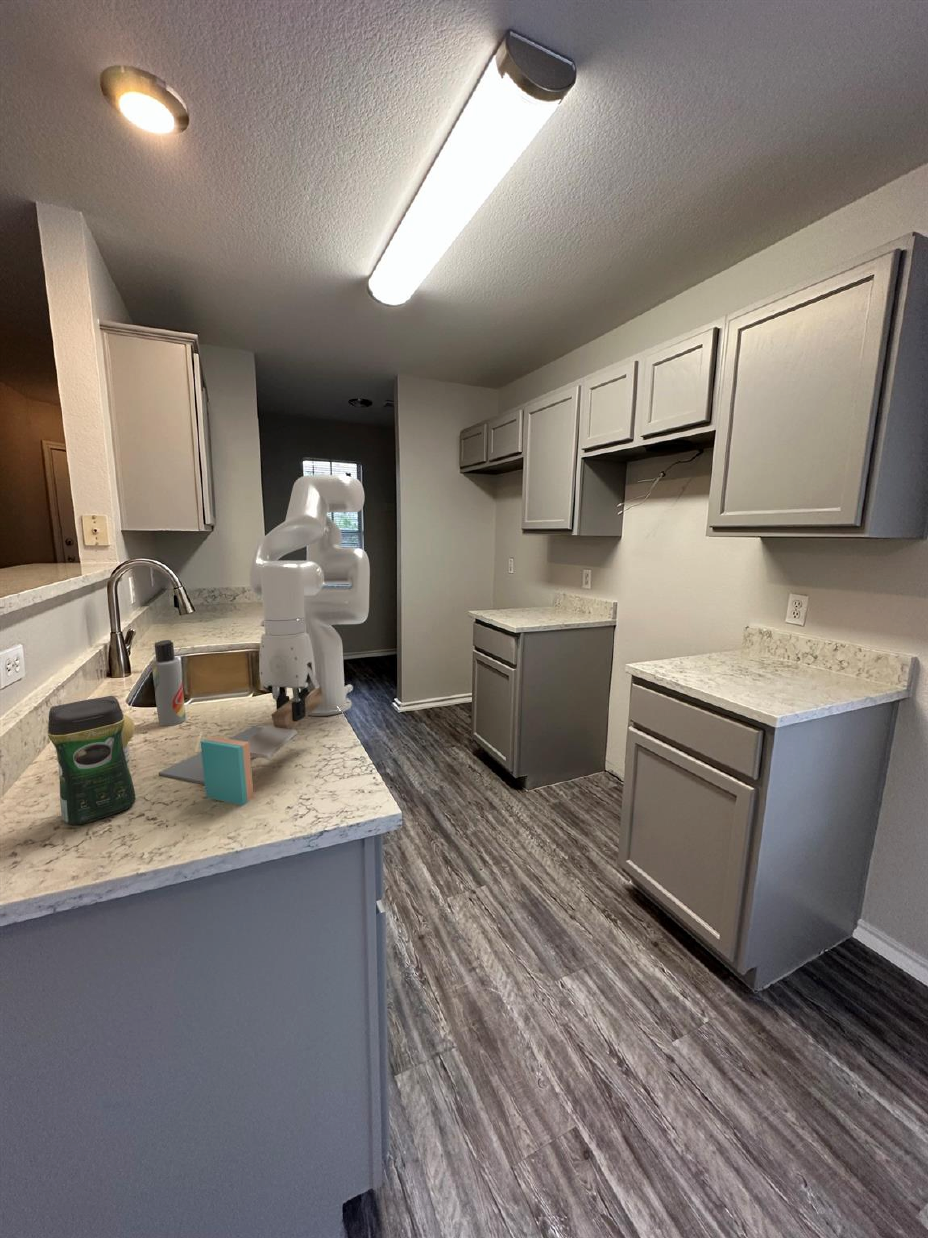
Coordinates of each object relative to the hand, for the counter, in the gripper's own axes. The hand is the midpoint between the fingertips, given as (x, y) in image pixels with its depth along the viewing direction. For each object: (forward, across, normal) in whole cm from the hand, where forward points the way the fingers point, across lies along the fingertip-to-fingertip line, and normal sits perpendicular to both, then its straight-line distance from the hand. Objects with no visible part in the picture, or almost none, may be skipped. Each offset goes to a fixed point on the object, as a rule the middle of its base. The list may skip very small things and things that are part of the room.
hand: (291, 717), depth 96 cm
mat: (+8, -13, -2) cm, 16 cm away
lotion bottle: (+8, -41, +7) cm, 42 cm away
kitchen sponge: (+8, 0, -16) cm, 18 cm away
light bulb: (+8, -31, -13) cm, 35 cm away
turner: (+1, 0, -1) cm, 2 cm away
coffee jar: (+9, -17, -26) cm, 33 cm away
